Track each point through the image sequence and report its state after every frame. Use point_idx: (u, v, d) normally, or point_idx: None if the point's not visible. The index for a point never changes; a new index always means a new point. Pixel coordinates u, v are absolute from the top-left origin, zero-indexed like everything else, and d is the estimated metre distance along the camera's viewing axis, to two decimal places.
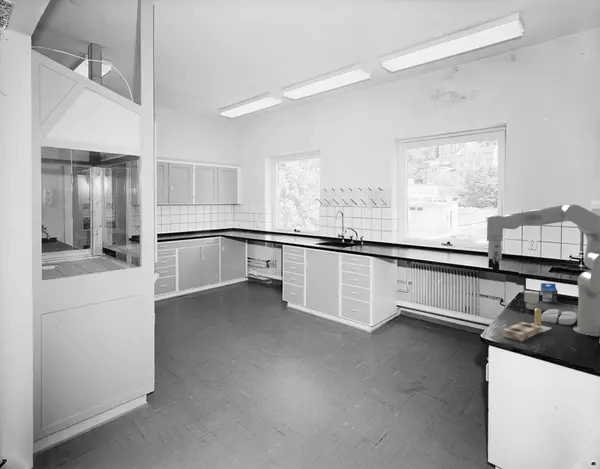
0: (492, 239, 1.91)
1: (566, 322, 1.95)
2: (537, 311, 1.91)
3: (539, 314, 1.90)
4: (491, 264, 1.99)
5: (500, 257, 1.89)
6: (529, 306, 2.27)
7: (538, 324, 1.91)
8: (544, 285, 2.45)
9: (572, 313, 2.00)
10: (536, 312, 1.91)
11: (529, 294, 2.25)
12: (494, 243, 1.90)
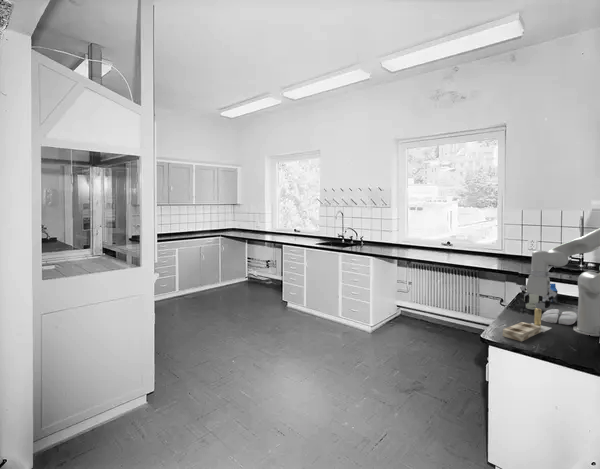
0: (544, 276, 1.86)
1: (566, 322, 1.95)
2: (537, 311, 1.91)
3: (539, 314, 1.90)
4: (527, 299, 1.95)
5: (549, 293, 1.88)
6: (529, 306, 2.27)
7: (538, 324, 1.91)
8: None
9: (572, 313, 2.00)
10: (536, 312, 1.91)
11: (529, 294, 2.25)
12: (547, 280, 1.86)
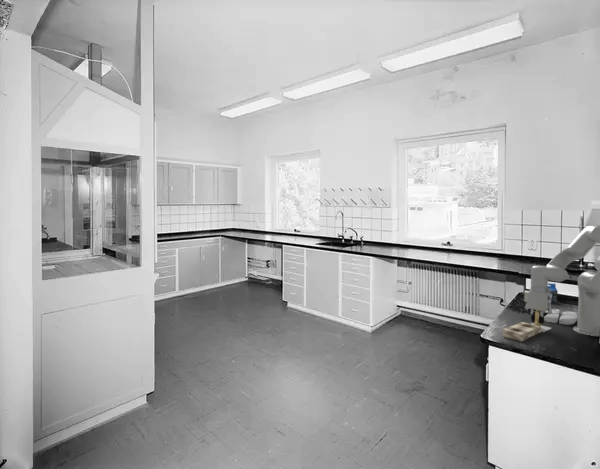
0: (544, 291, 1.87)
1: (567, 322, 1.95)
2: (537, 311, 1.91)
3: (539, 314, 1.90)
4: None
5: (550, 308, 1.88)
6: None
7: (538, 324, 1.91)
8: None
9: (573, 313, 2.00)
10: (536, 312, 1.91)
11: None
12: (547, 295, 1.87)
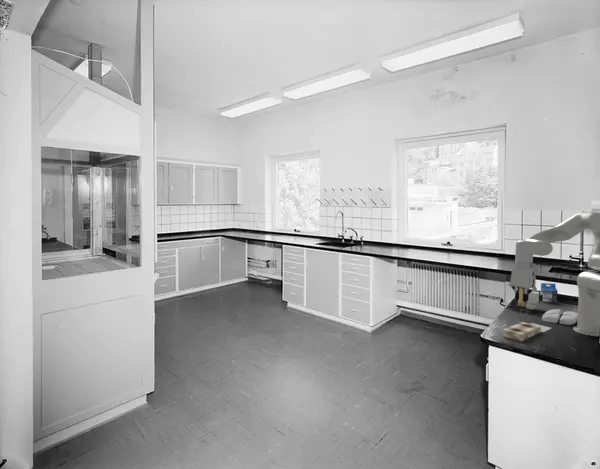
0: (528, 267, 1.76)
1: (567, 322, 1.95)
2: (521, 288, 1.80)
3: (523, 291, 1.79)
4: None
5: (534, 285, 1.78)
6: (529, 306, 2.27)
7: (522, 302, 1.80)
8: (544, 285, 2.45)
9: (574, 313, 2.00)
10: (520, 289, 1.80)
11: (529, 294, 2.25)
12: (531, 271, 1.76)
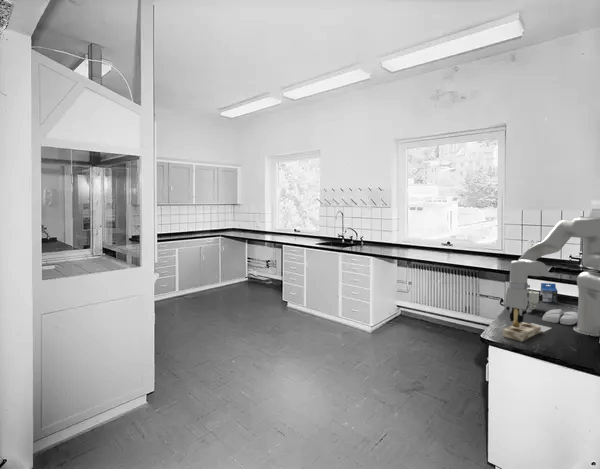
0: (523, 288, 1.74)
1: (568, 322, 1.95)
2: (516, 309, 1.78)
3: (518, 312, 1.77)
4: None
5: (529, 306, 1.76)
6: None
7: (517, 323, 1.78)
8: (544, 285, 2.45)
9: (574, 313, 2.00)
10: (515, 310, 1.78)
11: None
12: (526, 292, 1.74)
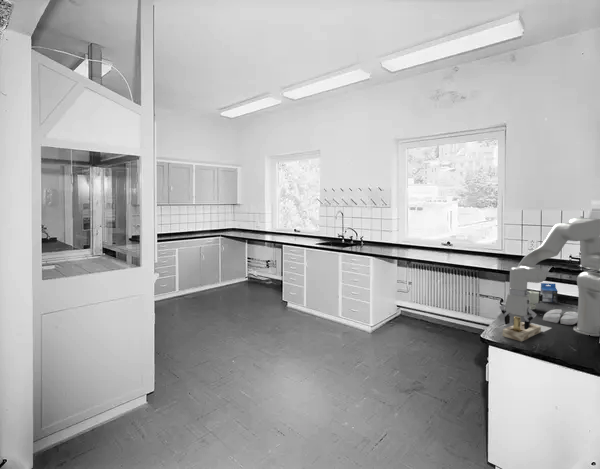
0: (523, 294, 1.75)
1: (568, 322, 1.95)
2: (516, 320, 1.78)
3: (518, 323, 1.78)
4: (508, 320, 1.83)
5: None
6: None
7: None
8: (544, 285, 2.45)
9: (575, 313, 2.00)
10: (515, 321, 1.79)
11: (529, 294, 2.25)
12: (526, 299, 1.74)
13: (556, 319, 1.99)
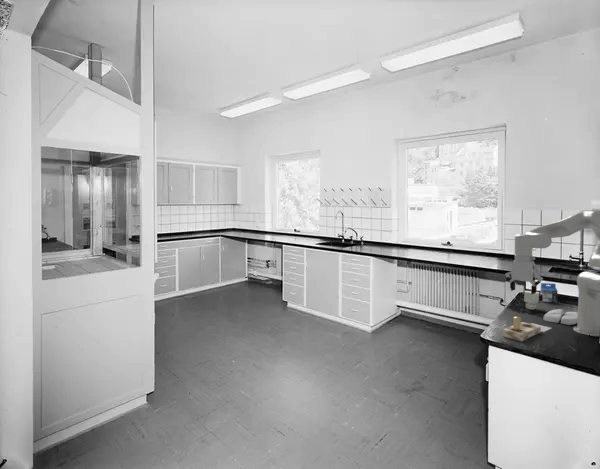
0: (528, 260, 1.77)
1: (568, 322, 1.95)
2: (516, 320, 1.78)
3: (518, 323, 1.78)
4: (513, 286, 1.85)
5: (535, 278, 1.78)
6: (529, 306, 2.27)
7: None
8: (544, 285, 2.45)
9: (576, 313, 2.00)
10: (515, 321, 1.79)
11: (529, 294, 2.25)
12: (532, 264, 1.77)
13: (557, 319, 1.99)
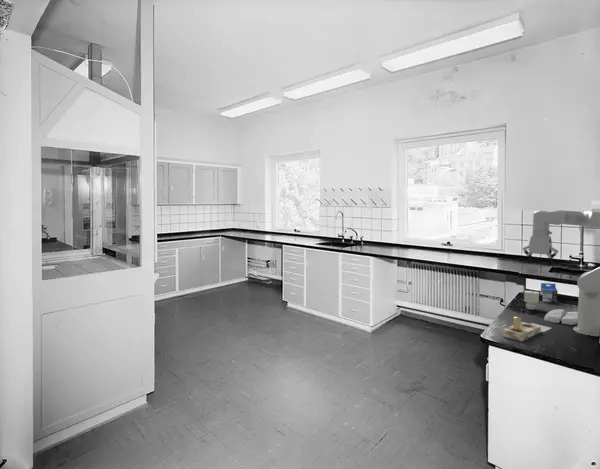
0: (546, 234, 1.93)
1: (569, 322, 1.95)
2: (516, 320, 1.78)
3: (518, 323, 1.78)
4: (530, 259, 2.01)
5: (551, 251, 1.94)
6: (529, 306, 2.27)
7: None
8: (544, 285, 2.45)
9: (576, 313, 2.00)
10: (515, 321, 1.79)
11: (529, 294, 2.25)
12: (548, 238, 1.93)
13: (557, 319, 1.99)
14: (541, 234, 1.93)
